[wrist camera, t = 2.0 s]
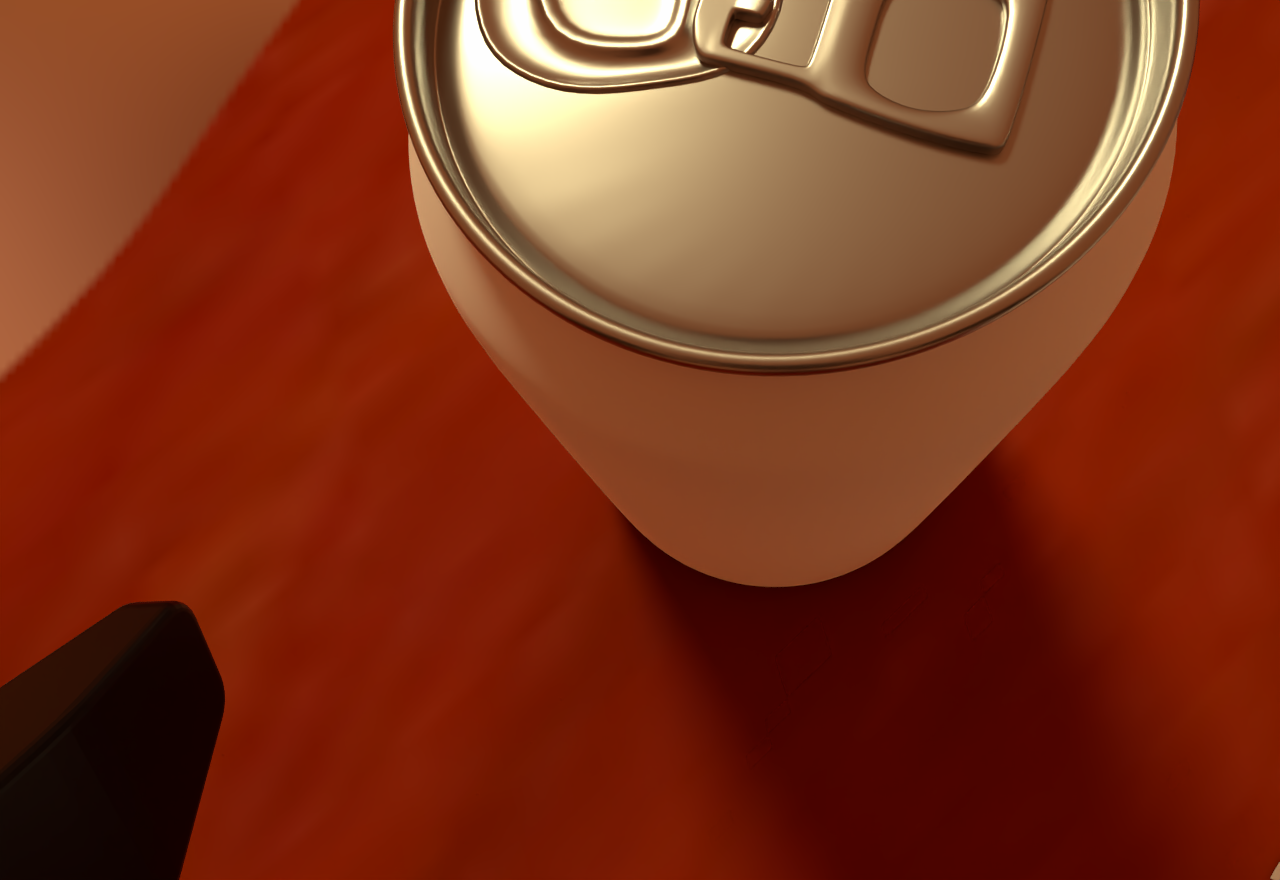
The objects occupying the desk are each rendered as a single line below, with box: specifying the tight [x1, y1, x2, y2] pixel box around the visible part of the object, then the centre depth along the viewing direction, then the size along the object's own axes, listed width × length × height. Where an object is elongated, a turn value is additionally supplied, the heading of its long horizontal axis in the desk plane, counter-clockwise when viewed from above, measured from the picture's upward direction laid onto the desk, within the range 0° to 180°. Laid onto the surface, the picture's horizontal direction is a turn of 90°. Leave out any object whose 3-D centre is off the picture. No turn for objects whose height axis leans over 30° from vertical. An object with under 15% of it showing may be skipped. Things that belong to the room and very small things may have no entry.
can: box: [393, 0, 1200, 587], centre depth 13 cm, size 6×6×12 cm
